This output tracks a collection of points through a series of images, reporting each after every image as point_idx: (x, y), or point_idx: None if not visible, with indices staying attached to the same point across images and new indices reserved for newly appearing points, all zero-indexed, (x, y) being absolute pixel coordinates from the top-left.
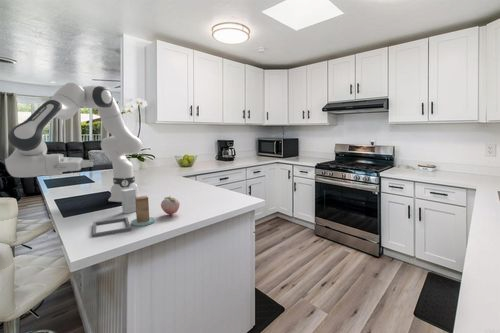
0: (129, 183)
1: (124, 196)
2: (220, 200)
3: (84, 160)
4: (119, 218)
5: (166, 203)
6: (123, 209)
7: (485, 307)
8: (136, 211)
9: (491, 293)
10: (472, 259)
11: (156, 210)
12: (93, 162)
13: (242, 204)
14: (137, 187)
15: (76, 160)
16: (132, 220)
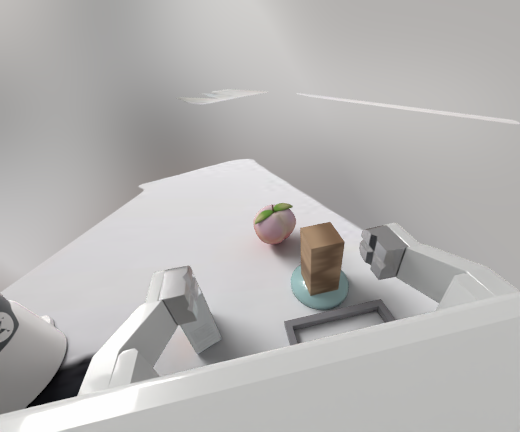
0: (11, 312)
1: (205, 307)
2: (215, 186)
3: (140, 357)
4: (292, 343)
5: (287, 221)
6: (203, 343)
7: (490, 118)
8: (322, 276)
9: (470, 114)
10: (420, 111)
11: (227, 268)
12: (193, 280)
13: (253, 170)
14: (21, 305)
15: (469, 370)
16: (315, 304)
